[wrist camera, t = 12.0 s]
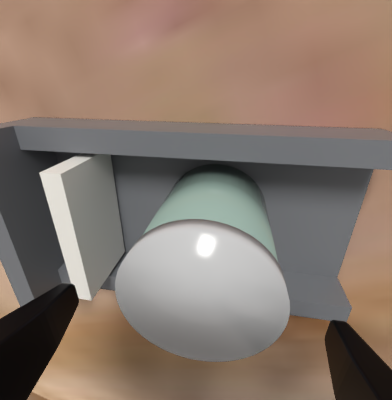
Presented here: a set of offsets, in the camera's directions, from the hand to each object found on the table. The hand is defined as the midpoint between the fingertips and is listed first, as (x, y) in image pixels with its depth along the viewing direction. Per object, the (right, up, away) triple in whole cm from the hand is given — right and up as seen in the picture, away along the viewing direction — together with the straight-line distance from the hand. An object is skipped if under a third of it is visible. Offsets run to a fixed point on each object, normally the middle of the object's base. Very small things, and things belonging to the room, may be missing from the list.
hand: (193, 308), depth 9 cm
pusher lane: (0, +3, +7) cm, 8 cm away
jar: (+1, +3, +7) cm, 7 cm away
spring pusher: (-5, +4, +7) cm, 10 cm away
